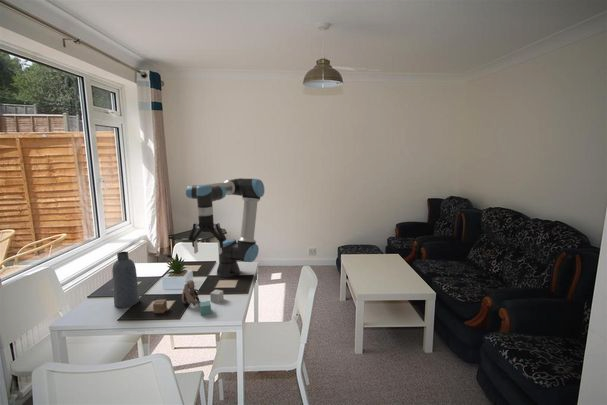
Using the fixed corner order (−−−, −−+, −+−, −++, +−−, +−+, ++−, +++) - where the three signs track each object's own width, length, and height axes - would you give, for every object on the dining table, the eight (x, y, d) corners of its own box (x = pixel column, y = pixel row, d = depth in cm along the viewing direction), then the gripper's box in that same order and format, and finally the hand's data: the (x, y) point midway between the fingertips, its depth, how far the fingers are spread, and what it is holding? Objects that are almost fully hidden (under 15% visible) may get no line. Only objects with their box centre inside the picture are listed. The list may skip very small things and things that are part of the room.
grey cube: (215, 297, 183) (215, 289, 183) (223, 299, 182) (223, 290, 181) (210, 301, 179) (210, 293, 178) (218, 303, 177) (218, 294, 176)
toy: (205, 299, 180) (198, 277, 173) (194, 310, 173) (187, 288, 166) (192, 296, 183) (185, 275, 177) (182, 307, 176) (173, 285, 170)
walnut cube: (157, 308, 171) (156, 299, 170) (166, 308, 171) (166, 299, 171) (153, 313, 166) (153, 304, 165) (163, 313, 166) (163, 303, 166)
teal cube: (200, 311, 168) (199, 302, 167) (210, 309, 170) (209, 300, 169) (200, 316, 164) (200, 306, 163) (211, 314, 165) (210, 305, 164)
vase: (113, 310, 169) (108, 258, 165) (114, 300, 180) (110, 251, 175) (139, 305, 175) (135, 254, 170) (139, 296, 185) (135, 248, 181)
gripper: (179, 215, 169) (182, 254, 173) (225, 216, 166) (228, 256, 170) (186, 212, 176) (189, 249, 180) (231, 213, 173) (233, 251, 177)
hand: (208, 253), depth 175 cm, fingers open, 13 cm apart
